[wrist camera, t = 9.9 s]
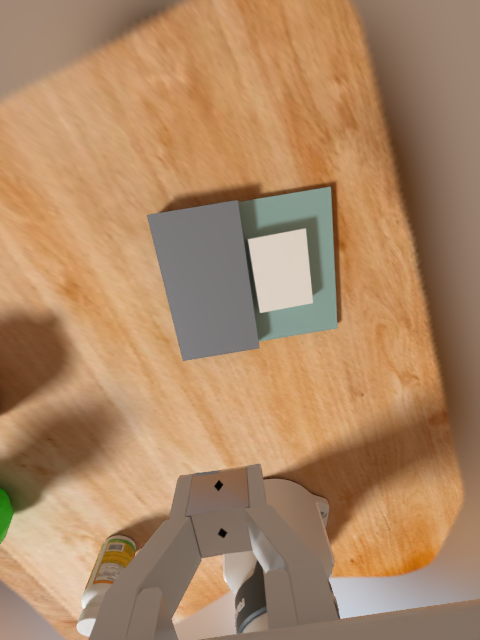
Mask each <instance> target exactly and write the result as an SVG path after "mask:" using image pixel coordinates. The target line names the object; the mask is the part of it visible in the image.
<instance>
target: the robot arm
mask: <svg viewBox="0 0 480 640" xmlns="http://www.w3.org/2000/svg"><path fill="white" fill-rule="evenodd" d="M328 514H329V504H328V501H327V500H326V499H325V498H322V497H319V496H316V495H313V494H311V493H310V492H308V491H307V490H306V489H305V488H304V487H302V486H301V485H299V484H297V483H295V482H292V481H289V480H284V479H265V480H263V475H262V469H261V464H255V465H249V466H243V467H237V468H231V469H224V470H219V471H211V472H203V473H195V474H189V475H180V476H179V478H178V480H177V485H176V489H175V494H174V498H173V503H172V507H171V512H170V516H169V519H168V520H164V521H163V523H162V524H161V525H160V526H159V528H158V529H157V530H156V531H155V532H154V534H153V535H152V536H151V537H150V539H149V540H148V541H147V542H146V544H145V545H144V546H143V547H142V548H141V550H140V551H139V552H138V553H137V555H136V556H135V557H134V558H133V559H132V561H131V562H130V563H129V564H128V566H127V567H126V568H125V569H124V570H123V572H122V573H121V574H120V575H119V577H118V578H117V579H116V580H115V582H114V583H113V584H112V585H111V586H110V588H109V589H108V590H107V591H106V593H105V595H104V598H103V601H102V604H101V606H100V609H99V612H98V615H97V618H96V620H95V623H94V626H93V629H92V632H91V634H90V637H89V640H178V638H177V635H176V632H175V629H174V626H173V623H172V620H171V619H172V617H173V615H174V613H175V611H176V609H177V607H178V605H179V603H180V601H181V599H182V597H183V595H184V593H185V591H186V590H187V588H188V586H189V584H190V582H191V580H192V578H193V576H194V574H195V572H196V570H197V568H198V566H199V564H200V562H201V558H206V557H211V556H217V555H222V554H223V576H224V581H225V582H227V584H228V587H229V588H230V590H231V591H232V592H233V593H234V594H235V595H236V599H235V608H236V613H235V627H236V630H237V634H234V635H227V636H220V637H214V638H207V639H200V640H480V599H476V600H469V601H462V602H455V603H448V604H442V605H434V606H427V607H421V608H413V609H407V610H400V611H393V612H386V613H379V614H373V615H366V616H359V617H351V618H345V619H340V616H339V612H338V611H339V609H338V605H337V601H336V598H335V596H334V595H333V591H332V588H331V584H330V582H329V578H331V577H332V569H333V566H334V562H335V561H334V556H333V552H332V549H331V546H330V542H329V539H328V536H327V532H326V525H327V520H328Z"/></svg>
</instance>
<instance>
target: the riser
mask: <svg viewBox="0 0 480 640" xmlns="http://www.w3.org/2000/svg"><path fill="white" fill-rule="evenodd" d="M147 218H148V222H149V226H150V230H151V234H152V238H153V242H154V246H155V250H156V254H157V258H158V262H159V266H160V270H161V274H162V278H163V282H164V286H165V290H166V294H167V298H168V302H169V306H170V310H171V314H172V319H173V323H174V327H175V331H176V335H177V339H178V343H179V347H180V351H181V355H182V359H183V361H186V360H192V359H198V358H204V357H210V356H216V355H222V354H228V353H234V352H240V351H246V350H252V349H258V348H259V341H258V334H257V328H256V321H255V314H254V307H253V300H252V293H251V287H250V280H249V273H248V266H247V259H246V253H245V246H244V239H243V232H242V225H241V219H240V212H239V205H238V200H235V201H229V202H223V203H217V204H210V205H204V206H198V207H192V208H186V209H180V210H174V211H168V212H162V213H156V214H150V215H147Z"/></svg>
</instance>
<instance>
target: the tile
mask: <svg viewBox="0 0 480 640" xmlns="http://www.w3.org/2000/svg"><path fill="white" fill-rule="evenodd" d="M247 245H248V251H249V257H250V263H251V269H252V275H253V281H254V287H255V293H256V299H257V305H258V310H259V312H260V313H263V312H269V311H274V310H279V309H284V308H290V307H295V306H300V305H306V304H311V303H313V297H312V287H311V276H310V266H309V256H308V246H307V235H306V228H304V229H296V230H291V231H286V232H280V233H275V234H270V235H265V236H259V237H254V238H249V239H247Z"/></svg>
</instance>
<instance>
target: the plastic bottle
mask: <svg viewBox="0 0 480 640" xmlns="http://www.w3.org/2000/svg"><path fill="white" fill-rule="evenodd" d="M12 516H13V508H12V506H11V503H10V498H9V496H8V494H7V493H6V491H4V490H3V489H1V488H0V544H1V542H2V541H3V539H4V538H5V536H6V533H7V531H8V528H9V525H10V523H11V519H12Z"/></svg>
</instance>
